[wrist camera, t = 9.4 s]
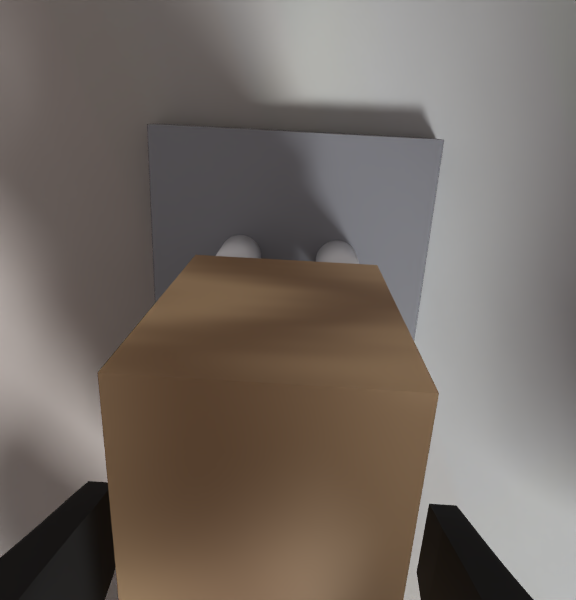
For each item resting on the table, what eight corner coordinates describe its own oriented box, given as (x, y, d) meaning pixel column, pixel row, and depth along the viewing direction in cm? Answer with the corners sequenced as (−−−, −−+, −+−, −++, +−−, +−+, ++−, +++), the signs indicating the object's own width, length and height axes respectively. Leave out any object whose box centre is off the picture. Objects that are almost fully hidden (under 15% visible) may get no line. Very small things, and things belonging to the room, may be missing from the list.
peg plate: (436, 138, 14) (472, 144, 11) (372, 585, 20) (384, 671, 17) (156, 123, 14) (113, 124, 11) (173, 571, 20) (148, 654, 17)
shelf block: (377, 265, 12) (439, 393, 6) (336, 622, 16) (352, 893, 10) (195, 255, 12) (97, 372, 6) (201, 613, 16) (144, 877, 11)
